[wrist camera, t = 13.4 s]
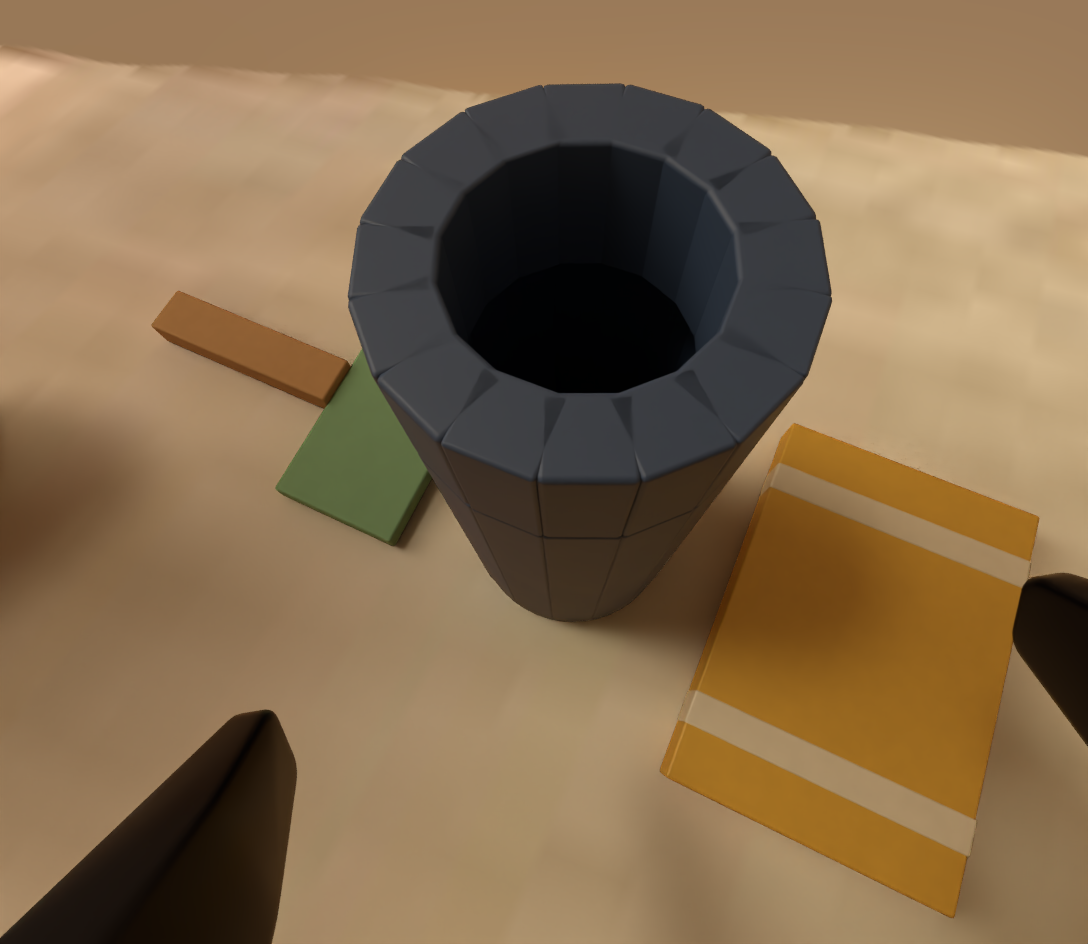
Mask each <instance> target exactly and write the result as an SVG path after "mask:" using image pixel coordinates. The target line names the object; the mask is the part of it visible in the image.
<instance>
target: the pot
mask: <svg viewBox="0 0 1088 944" xmlns="http://www.w3.org/2000/svg"><path fill="white" fill-rule="evenodd" d="M831 294H832V293H831V285H830V279H829V273H828V267H827V261H826V255H825V249H824V243H823V237H822V231H821V225H820V222H819V220H816V215H815V212H814V211H813V209H812V208H811V206H810V205H809V203H808V202H807V200H806V199H805V198H804V196H803V195H802V193H801V192H800V190H799V189H798V187H797V186H796V184H795V183H794V182H793V180H792V179H791V177H790V176H789V174H788V173H787V171H786V170H785V169H784V167H783V166H782V164H781V163H780V161H779V160H778V158H777V157H775V156H771V151H770V150H769V149H768V148H767V147H765V146H764V145H763V144H761V143H760V142H758V141H757V140H755V139H754V138H752V137H751V136H749V135H748V134H746V133H745V132H743V131H742V130H740V129H739V128H737V127H736V126H734V125H733V124H731V123H730V122H729V121H727V120H726V119H724V118H723V117H721V116H720V115H718V114H717V113H715V112H714V111H712V110H711V109H704V106H702V105H701V104H697V103H694V102H690V101H686V100H683V99H679V98H676V97H672V96H669V95H665V94H662V93H658V92H655V91H651V90H647V89H644V88H641V87H637V86H634V85H627V86H626V87H625V86H624V84H562V85H561V84H560V85H546V86H544V88H543V86H542V85H538V86H535V87H532V88H528V89H526V90H522V91H519V92H516V93H513V94H510V95H507V96H503V97H500V98H497V99H494V100H491V101H488V102H485V103H482V104H478V105H475V106H472V107H469V108H467V109H465V112H460V113H459V114H457V115H456V116H455V117H453V118H452V119H451V120H449V121H448V122H446V123H445V124H444V125H442V126H441V127H440V128H438V129H437V130H435V131H434V132H433V133H431V134H430V135H429V136H427V137H426V138H424V139H423V140H422V141H420V142H419V143H418V144H416V145H415V146H413V147H412V148H411V149H409V150H408V151H407V152H405V153H404V154H403V155H402V157H401V160H399V161H397V162H396V164H395V165H394V167H393V168H392V170H391V172H390V173H389V175H388V176H387V178H386V179H385V181H384V183H383V184H382V186H381V187H380V189H379V190H378V192H377V193H376V195H375V197H374V198H373V200H372V201H371V203H370V204H369V206H368V207H367V209H366V211H365V212H364V214H363V215H362V217H361V220H360V225H359V226H358V228H357V233H356V241H355V248H354V255H353V262H352V270H351V277H350V284H349V291H348V299H349V305H348V308H349V311H350V314H351V317H352V320H353V323H354V326H355V328H356V331H357V334H358V337H359V340H360V343H361V346H362V349H363V352H364V355H365V358H366V360H367V363H368V366H369V369H370V372H371V375H372V377H373V378H374V380H375V382H376V384H377V385H378V387H379V389H380V390H381V392H382V394H383V395H384V397H385V399H386V400H387V402H388V404H389V406H390V407H391V409H392V411H393V412H394V414H395V416H396V417H397V419H398V421H399V422H400V424H401V426H402V427H403V429H404V431H405V433H406V434H407V436H408V438H409V439H410V441H411V443H412V444H413V446H414V448H415V449H416V451H417V452H418V455H419V457H420V458H421V460H422V462H423V463H424V465H425V467H426V468H427V470H428V472H429V473H430V475H431V477H432V478H433V480H434V482H435V484H436V485H437V487H438V489H439V490H440V492H441V494H442V495H443V497H444V499H445V500H446V502H447V504H448V505H449V507H450V509H451V511H452V512H453V514H454V516H455V517H456V519H457V521H458V522H459V524H460V526H461V527H462V529H463V531H464V532H465V534H466V536H467V538H468V539H469V541H470V543H471V544H472V546H473V548H474V549H475V551H476V553H477V554H478V556H479V558H480V559H481V561H482V563H483V565H484V566H485V568H486V570H487V571H488V573H489V574H490V576H491V577H492V578H493V579H494V580H495V581H496V583H497V584H498V585H499V586H500V588H501V589H502V590H503V591H504V592H505V593H506V594H507V595H508V596H509V597H510V598H511V599H512V600H513V601H515V602H516V603H517V604H519V605H520V606H522V607H523V608H525V609H527V610H529V611H531V612H533V613H534V614H537V615H540V616H543V617H545V618H549V619H554V620H558V621H569V622H576V621H588V620H593V619H598V618H601V617H604V616H607V615H609V614H611V613H614V612H616V611H618V610H620V609H621V608H623V607H624V606H626V605H627V604H629V603H630V602H632V601H633V600H634V599H635V598H636V597H637V596H638V595H639V594H640V593H641V592H642V591H643V590H644V589H645V587H646V586H647V585H648V584H649V583H650V582H651V581H652V580H653V579H654V578H655V577H656V576H657V574H658V573H659V572H660V570H661V569H662V568H663V566H664V565H665V564H666V562H667V561H668V560H669V558H670V557H671V556H672V555H673V553H674V552H675V551H676V549H677V548H678V547H679V545H680V544H681V543H682V541H683V540H684V539H685V537H686V536H687V535H688V533H689V532H690V531H691V530H692V528H693V527H694V526H695V524H696V523H697V522H698V520H699V519H700V518H701V516H702V515H703V514H704V512H705V511H706V510H707V509H708V507H709V506H710V505H711V503H712V502H713V501H714V499H715V498H716V497H717V495H718V494H719V493H720V491H721V490H722V489H723V488H724V486H725V485H726V484H727V482H728V481H729V480H730V478H731V477H732V476H733V474H734V473H735V472H736V470H737V469H738V468H739V467H740V465H741V464H742V463H743V461H744V460H745V459H746V457H747V456H748V455H749V453H750V452H751V451H752V449H753V448H754V447H755V445H756V444H757V443H758V441H759V440H760V439H761V438H762V436H763V435H764V434H765V432H766V431H767V430H768V428H769V427H770V426H771V424H772V423H773V422H774V420H775V419H776V418H777V416H778V415H779V414H780V413H781V411H782V410H783V409H784V407H785V406H786V405H787V403H788V402H789V401H790V399H791V398H792V397H793V395H794V394H795V393H796V392H797V390H798V389H799V388H800V386H801V385H802V384H803V381H804V380H805V378H806V377H807V376H808V374H809V371H810V368H811V365H812V362H813V358H814V355H815V352H816V349H817V346H818V343H819V340H820V337H821V334H822V331H823V328H824V325H825V322H826V319H827V316H828V313H829V310H830V307H831V303H832V297H831Z"/></svg>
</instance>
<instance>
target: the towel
mask: <svg viewBox="0 0 1088 944" xmlns="http://www.w3.org/2000/svg"><path fill="white" fill-rule="evenodd" d="M759 496H760V497H759V500H758V502H757V505H756V508H755V511H754V513H753V516H752V519H751V522H750V524H749V527H748V530H747V533H746V535H745V538H744V541H743V544H742V546H741V549H740V552H739V555H738V557H737V560H736V563H735V565H734V568H733V571H732V574H731V576H730V579H729V582H728V585H727V587H726V590H725V593H724V596H723V598H722V601H721V604H720V607H719V609H718V612H717V615H716V617H715V620H714V623H713V626H712V628H711V631H710V634H709V637H708V639H707V642H706V645H705V648H704V650H703V653H702V656H701V659H700V661H699V664H698V667H697V670H696V672H695V675H694V678H693V680H692V683H691V686H690V689H689V691H688V692H687V694H686V697H685V700H684V703H683V705H682V708H681V711H680V714H679V716H678V722H677V724H676V727H675V730H674V732H673V735H672V738H671V741H670V743H669V746H668V749H667V752H666V754H665V757H664V760H663V763H662V765H661V768H660V772H661V773H662V774H663V775H664V776H666V777H667V778H669V779H671V780H673V781H675V782H677V783H679V784H681V785H683V786H685V787H687V788H689V789H691V790H693V791H695V792H697V793H699V794H701V795H703V796H705V797H707V798H709V799H711V800H713V801H715V802H717V803H719V804H721V805H723V806H725V807H727V808H729V809H731V810H733V811H735V812H738V813H740V814H742V815H744V816H746V817H748V818H750V819H752V820H754V821H756V822H758V823H760V824H762V825H764V826H766V827H768V828H770V829H772V830H774V831H776V832H778V833H780V834H782V835H784V836H786V837H788V838H790V839H792V840H794V841H796V842H798V843H800V844H802V845H804V846H806V847H808V848H810V849H812V850H814V851H816V852H818V853H820V854H822V855H824V856H826V857H828V858H830V859H832V860H835V861H837V862H839V863H841V864H843V865H845V866H847V867H849V868H851V869H853V870H855V871H857V872H859V873H861V874H863V875H865V876H867V877H869V878H871V879H873V880H875V881H877V882H879V883H881V884H883V885H885V886H887V887H889V888H891V889H893V890H895V891H897V892H899V893H901V894H903V895H905V896H907V897H909V898H911V899H913V900H915V901H917V902H919V903H921V904H923V905H925V906H927V907H929V908H931V909H934V910H936V911H938V912H940V913H942V914H944V915H946V916H948V917H950V918H954V916H955V912H956V907H957V903H958V898H959V893H960V889H961V884H962V879H963V875H964V870H965V865H966V861H967V857H969V856H970V853H971V849H972V844H973V839H974V834H975V830H976V825H977V821H976V820H975V818H976V814H977V809H978V804H979V799H980V795H981V790H982V785H983V781H984V776H985V771H986V767H987V762H988V757H989V753H990V748H991V743H992V738H993V734H994V729H995V724H996V720H997V715H998V710H999V706H1000V701H1001V696H1002V692H1003V687H1004V682H1005V677H1006V673H1007V668H1008V663H1009V659H1010V654H1011V649H1012V645H1013V637H1012V629H1013V625H1014V620H1015V616H1016V611H1017V607H1018V603H1019V598H1020V594H1021V589H1022V587H1023V585H1024V583H1025V582H1026V581H1027V580H1028V576H1029V571H1030V567H1031V562H1030V560H1031V555H1032V551H1033V546H1034V541H1035V537H1036V532H1037V527H1038V523H1039V517H1038V516H1036V515H1033V514H1030V513H1028V512H1025V511H1022V510H1020V509H1017V508H1015V507H1012V506H1009V505H1007V504H1004V503H1002V502H999V501H996V500H994V499H991V498H989V497H986V496H983V495H981V494H978V493H975V492H973V491H970V490H968V489H965V488H962V487H960V486H957V485H955V484H952V483H949V482H947V481H944V480H942V479H939V478H936V477H934V476H931V475H929V474H926V473H923V472H921V471H918V470H915V469H913V468H910V467H908V466H905V465H902V464H900V463H897V462H895V461H892V460H889V459H887V458H884V457H882V456H879V455H876V454H874V453H871V452H868V451H866V450H863V449H861V448H858V447H855V446H853V445H850V444H848V443H845V442H842V441H840V440H837V439H835V438H832V437H829V436H827V435H824V434H821V433H819V432H816V431H814V430H811V429H808V428H806V427H803V426H801V425H798V424H795V423H794V424H792V425H791V427H790V428H789V429H788V430H787V431H786V433H785V434H784V435H783V436H782V437H781V440H780V442H779V445H778V448H777V450H776V453H775V456H774V459H773V461H772V464H771V467H770V470H769V472H768V475H767V476H766V479H765V482H764V484H763V487H762V490H761V493H760V495H759Z"/></svg>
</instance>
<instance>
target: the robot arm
mask: <svg viewBox="0 0 1088 944" xmlns="http://www.w3.org/2000/svg"><path fill="white" fill-rule="evenodd" d="M1012 637H1013V642H1014V645H1015V647H1016V649H1017V651H1018V653H1019V654H1020V656H1021V657H1022V659H1023V660H1024V661H1025V663H1026V664H1027V665H1028V667H1029V668H1030V669H1031V671H1032V672H1033V673H1034V675H1035V676H1036V677H1037V679H1038V680H1039V681H1040V683H1041V684H1042V686H1043V687H1044V688H1045V690H1046V691H1047V692H1048V694H1049V695H1050V696H1051V698H1052V699H1053V700H1054V702H1055V703H1056V704H1057V706H1058V707H1059V708H1060V710H1061V711H1062V712H1063V714H1064V715H1065V717H1066V718H1067V719H1068V721H1069V722H1070V723H1071V725H1072V726H1073V727H1074V729H1075V730H1076V731H1077V733H1078V734H1079V735H1080V737H1081V738H1082V739H1083V741H1084V742H1085V744H1086V745H1087V746H1088V579H1086V578H1083V577H1080V576H1077V575H1073V574H1069V573H1055V574H1049V575H1043V576H1037V577H1033V578H1030V579H1028V580H1027V581H1026V582H1025V583H1024V585H1023V587H1022V589H1021V594H1020V598H1019V603H1018V607H1017V611H1016V616H1015V620H1014V625H1013V629H1012ZM296 780H297V767H296V761H295V757H294V755H293V752H292V750H291V747H290V745H289V743H288V740H287V738H286V736H285V733H284V731H283V729H282V726H281V724H280V722H279V719H278V717H277V716H276V714H275V713H274V712H273V711H271V710H259V711H254V712H248V713H242V714H238V715H235V716H234V717H232V718H231V719H230V720H229V721H227V722H226V723H225V724H224V725H223V726H222V727H221V728H220V729H219V730H218V731H217V732H216V733H215V734H214V735H213V736H212V737H211V738H210V739H208V740H207V741H206V742H205V743H204V744H203V745H202V746H201V747H200V748H199V749H198V750H197V751H196V752H195V753H194V754H193V755H192V756H191V757H190V758H189V759H188V760H186V761H185V762H184V763H183V764H182V765H181V766H180V767H179V768H178V769H177V770H176V771H175V772H174V773H173V774H172V775H171V776H170V777H169V778H168V779H167V780H165V781H164V782H163V783H162V784H161V785H160V786H159V787H158V788H157V789H156V790H155V791H154V792H153V793H152V794H151V795H150V796H149V797H148V798H147V799H146V800H144V801H143V802H142V803H141V804H140V805H139V806H138V807H137V808H136V809H135V810H134V811H133V812H132V813H131V814H130V815H129V816H128V817H127V818H126V819H125V820H123V821H122V822H121V823H120V824H119V825H118V826H117V827H116V828H115V829H114V830H113V831H112V832H111V833H110V834H109V835H108V836H107V837H106V838H105V839H104V840H102V841H101V842H100V843H99V844H98V845H97V846H96V847H95V848H94V849H93V850H92V851H91V852H90V853H89V854H88V855H87V856H86V857H85V858H84V859H83V860H82V861H80V862H79V863H78V864H77V865H76V866H75V867H74V868H73V869H72V870H71V871H70V872H69V873H68V874H67V875H66V876H65V877H64V878H63V879H62V880H61V881H59V882H58V883H57V884H56V885H55V886H54V887H53V888H52V889H51V890H50V891H49V892H48V893H47V894H46V895H45V896H44V897H43V898H42V899H41V900H40V901H38V902H37V903H36V904H35V905H34V906H33V907H32V908H31V909H30V910H29V911H28V912H27V913H26V914H25V915H24V916H23V917H22V918H21V919H20V920H19V921H17V922H16V923H15V924H14V925H13V926H12V927H11V928H10V929H9V930H8V931H7V932H6V933H5V934H4V935H3V936H2V937H1V938H0V944H272V939H273V935H274V930H275V926H276V921H277V915H278V909H279V903H280V897H281V890H282V883H283V875H284V868H285V861H286V853H287V846H288V839H289V832H290V824H291V817H292V810H293V803H294V795H295V788H296Z"/></svg>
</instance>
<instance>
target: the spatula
mask: <svg viewBox="0 0 1088 944" xmlns="http://www.w3.org/2000/svg"><path fill="white" fill-rule="evenodd" d="M152 327H153V328H154V329H155V330H156V331H157V332H158V333H160V334H161V335H162V336H163V337H164V338H165V339H166V340H167V341H170V342H172V343H174V344H177V345H179V346H181V347H184V348H186V349H188V350H190V351H193V352H195V353H197V354H200V355H202V356H204V357H207V358H209V359H211V360H213V361H216V362H218V363H220V364H223V365H225V366H227V367H230V368H232V369H234V370H237V371H239V372H241V373H243V374H246V375H248V376H250V377H253V378H255V379H257V380H260V381H262V382H264V383H267V384H269V385H271V386H273V387H276V388H278V389H280V390H283V391H285V392H287V393H290V394H292V395H294V396H296V397H299V398H301V399H303V400H306V401H308V402H310V403H313V404H315V405H317V406H320V407H322V408H324V411H323V412H322V414H321V415H320V417H319V418H318V420H317V422H316V423H315V425H314V426H313V428H312V430H311V431H310V433H309V434H308V436H307V438H306V439H305V441H304V442H303V444H302V446H301V447H300V449H299V450H298V452H297V454H296V455H295V457H294V458H293V460H292V462H291V463H290V465H289V466H288V468H287V469H286V471H285V473H284V474H283V476H282V477H281V479H280V481H279V482H278V484H277V485H276V488H275V489H276V490H277V491H278V492H280V493H281V494H283V495H284V496H286V497H288V498H290V499H293V500H295V501H297V502H299V503H301V504H303V505H305V506H308V507H310V508H312V509H314V510H316V511H318V512H320V513H323V514H325V515H327V516H329V517H331V518H333V519H335V520H338V521H340V522H342V523H344V524H346V525H348V526H350V527H353V528H355V529H357V530H359V531H361V532H363V533H366V534H368V535H370V536H372V537H374V538H376V539H378V540H381V541H383V542H385V543H387V544H389V545H391V546H395V545H396V543H397V541H398V539H399V537H400V535H401V534H402V532H403V530H404V528H405V526H406V524H407V523H408V521H409V519H410V517H411V515H412V513H413V512H414V510H415V508H416V506H417V504H418V503H419V501H420V499H421V497H422V495H423V493H424V492H425V490H426V488H427V486H428V484H429V482H430V481H431V479H432V477H431V475H430V473H429V472H428V470H427V468H426V467H425V465H424V463H423V462H422V460H421V458H420V457H419V455H418V452H417V451H416V449H415V448H414V446H413V444H412V443H411V441H410V439H409V438H408V436H407V434H406V433H405V431H404V429H403V427H402V426H401V424H400V422H399V421H398V419H397V417H396V416H395V414H394V412H393V411H392V409H391V407H390V406H389V404H388V402H387V400H386V399H385V397H384V395H383V394H382V392H381V390H380V389H379V387H378V385H377V384H376V382H375V380H374V378H373V377H372V375H371V372H370V369H369V366H368V363H367V360H366V358H365V355H364V352H363V349H362V350H361V352H360V353H359V355H358V356H357V358H356V360H355V361H354V363H353V364H352V366H350V364H349V363H348V362H347V361H346V360H344V359H341V358H339V357H337V356H334V355H332V354H329V353H327V352H325V351H322V350H320V349H317V348H315V347H313V346H310V345H308V344H305V343H303V342H301V341H298V340H296V339H293V338H291V337H289V336H286V335H284V334H281V333H279V332H277V331H274V330H272V329H269V328H267V327H264V326H262V325H260V324H257V323H255V322H252V321H250V320H248V319H245V318H243V317H240V316H238V315H236V314H233V313H231V312H228V311H226V310H224V309H221V308H219V307H216V306H214V305H212V304H209V303H207V302H204V301H202V300H200V299H197V298H195V297H192V296H190V295H188V294H185V293H183V292H180V291H177V292H176V293H175V294H174V296H173V297H172V298H171V300H170V301H169V302H168V304H167V305H166V306H165V308H164V309H163V310H162V311H161V313H160V314H159V315H158V317H157V318H156V319H155V321H154V322H153V323H152Z"/></svg>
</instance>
